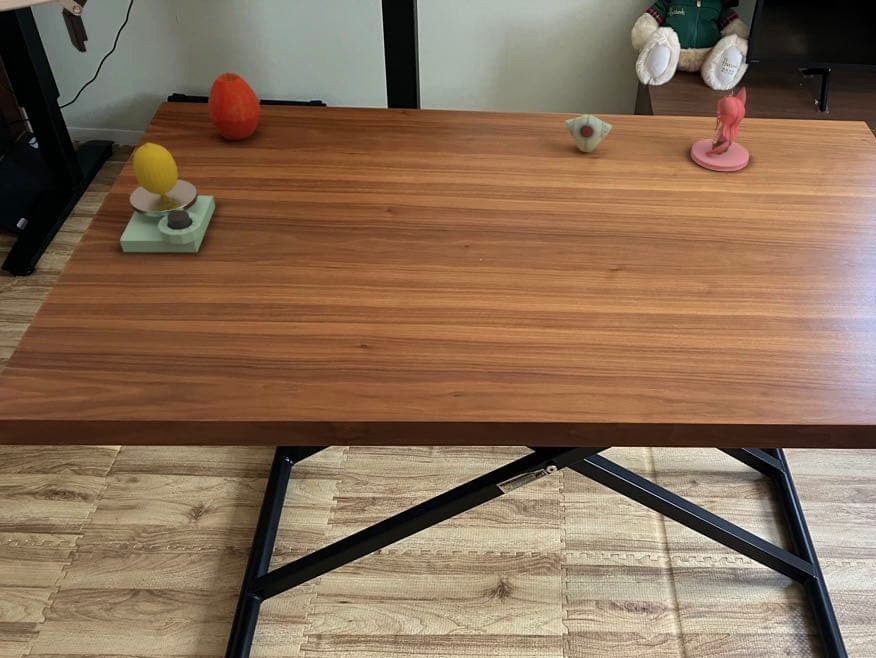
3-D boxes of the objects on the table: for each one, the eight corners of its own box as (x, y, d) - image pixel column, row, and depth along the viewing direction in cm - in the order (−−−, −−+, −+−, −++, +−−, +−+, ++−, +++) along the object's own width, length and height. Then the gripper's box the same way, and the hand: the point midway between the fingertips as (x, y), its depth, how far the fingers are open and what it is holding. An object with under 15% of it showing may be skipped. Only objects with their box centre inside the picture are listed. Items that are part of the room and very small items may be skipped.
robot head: (610, 149, 148) (614, 111, 144) (608, 161, 145) (612, 123, 141) (563, 144, 149) (566, 106, 144) (560, 156, 146) (563, 117, 141)
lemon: (185, 184, 126) (171, 132, 120) (180, 204, 122) (166, 152, 116) (145, 186, 125) (129, 134, 120) (139, 206, 121) (122, 153, 116)
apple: (267, 144, 144) (255, 81, 137) (215, 149, 142) (201, 86, 135) (262, 122, 150) (251, 60, 143) (212, 127, 148) (198, 64, 140)
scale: (202, 255, 121) (196, 234, 118) (121, 255, 120) (114, 233, 118) (221, 206, 130) (216, 186, 128) (146, 206, 129) (140, 185, 127)
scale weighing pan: (145, 223, 120) (143, 218, 119) (121, 195, 125) (120, 190, 124) (208, 204, 124) (206, 199, 123) (183, 177, 129) (181, 172, 128)
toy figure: (713, 138, 153) (727, 71, 144) (759, 159, 148) (775, 91, 140) (679, 155, 148) (690, 87, 139) (724, 178, 143) (739, 108, 135)
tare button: (188, 230, 119) (185, 221, 118) (167, 230, 119) (164, 220, 118) (193, 219, 122) (190, 210, 120) (172, 219, 121) (169, 210, 120)
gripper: (53, -132, 93) (102, 31, 105) (-132, -112, 85) (-57, 62, 97) (76, -115, 89) (124, 52, 101) (-117, -92, 81) (-40, 87, 93)
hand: (35, 57), depth 99 cm, fingers open, 9 cm apart
